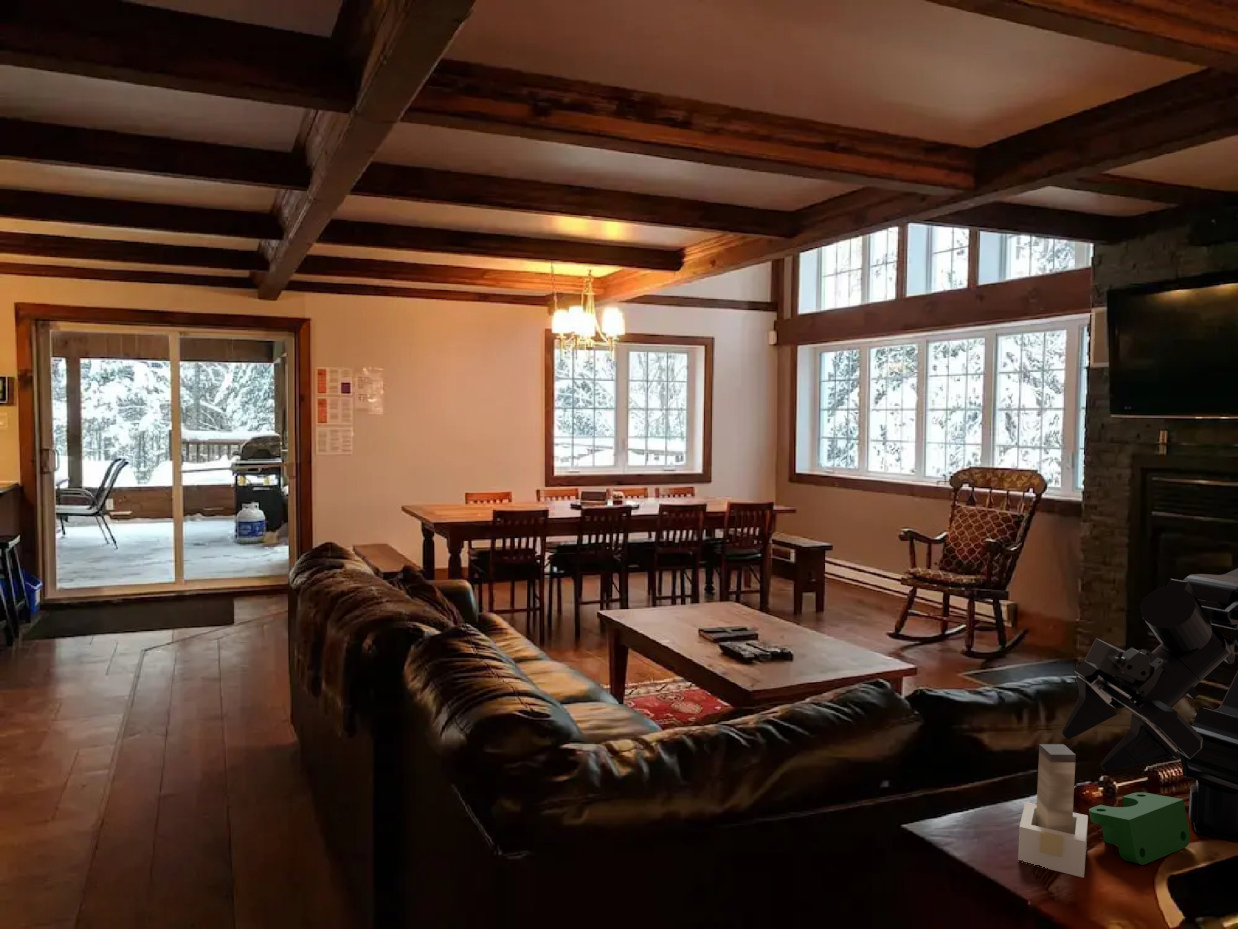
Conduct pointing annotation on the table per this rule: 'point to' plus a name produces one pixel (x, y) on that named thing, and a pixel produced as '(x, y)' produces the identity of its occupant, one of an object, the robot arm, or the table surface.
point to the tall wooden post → (1055, 787)
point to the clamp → (1144, 826)
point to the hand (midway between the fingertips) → (1082, 752)
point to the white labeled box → (1053, 843)
